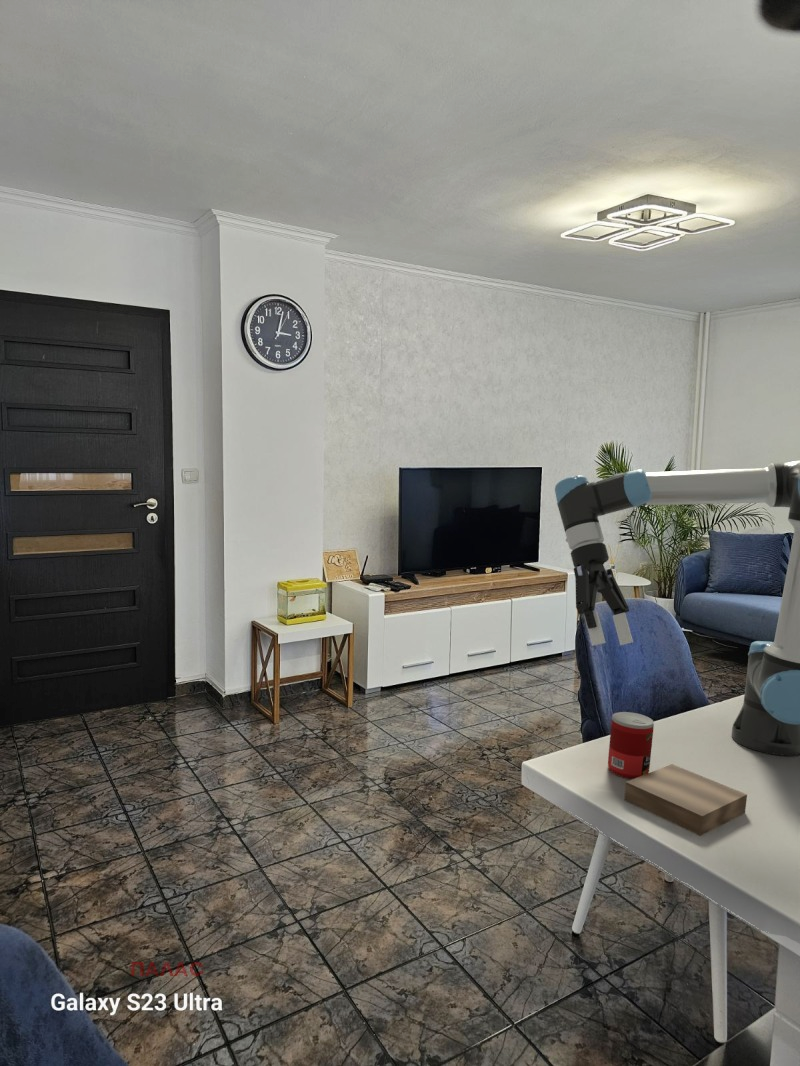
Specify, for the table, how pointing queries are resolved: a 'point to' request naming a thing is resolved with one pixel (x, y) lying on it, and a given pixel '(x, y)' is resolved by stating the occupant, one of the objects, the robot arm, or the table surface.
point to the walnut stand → (685, 798)
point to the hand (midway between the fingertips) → (613, 644)
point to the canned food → (630, 744)
